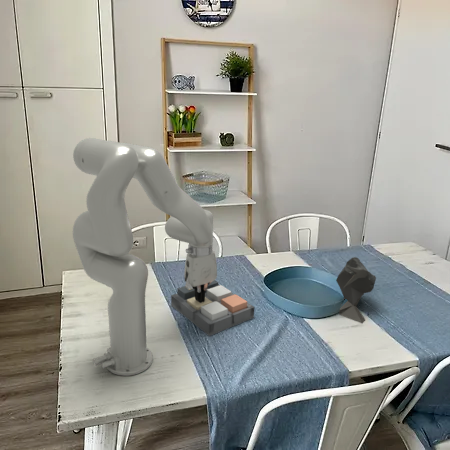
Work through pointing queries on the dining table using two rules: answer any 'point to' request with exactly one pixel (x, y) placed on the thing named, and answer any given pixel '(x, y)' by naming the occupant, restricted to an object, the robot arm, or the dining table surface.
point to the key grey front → (214, 311)
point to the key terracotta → (234, 303)
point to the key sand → (197, 303)
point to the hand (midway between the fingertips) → (199, 300)
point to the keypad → (203, 322)
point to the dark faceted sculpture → (354, 287)
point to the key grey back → (218, 293)
